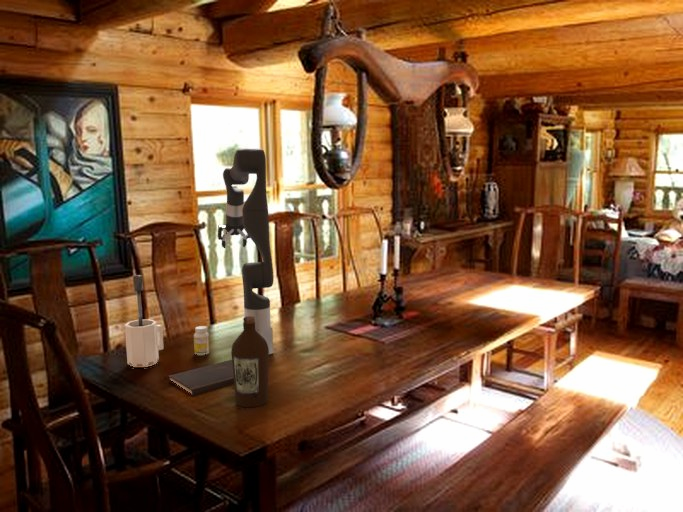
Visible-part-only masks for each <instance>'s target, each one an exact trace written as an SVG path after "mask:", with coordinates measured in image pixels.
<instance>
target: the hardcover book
mask: <svg viewBox="0 0 683 512" xmlns="http://www.w3.org/2000/svg"><path fill="white" fill-rule="evenodd" d="M168 377H169V380H171V381H173V382H174V383H176V384H177V385H176V384H175V385H176V386H178V385H179V386H180V387H179V386H178V387H179V388H181V387H182V388H183V389H182V388H181V389H182V390H184V389H185V390H186V391H185V392H187V391H188V392H187V393H189V392H190V393H191V394H190V393H189V394H190V395H192V396H195V394H196V395H200V394H202V392H203V393H206V392H209V390H210V391H213V390H216V389H219V388H223V386H224V387H227V386H230V385H234V375H233V364H232V359H229V360H226V361H225V360H224V361H220V362H217V363H213V364H209V365H206V366H205V365H204V366H201V367H198V368H197V367H196V368H194V369H190V370H186V371H182V372H179V373H175V374H174V373H173V374H171V375H170V374H169V375H168ZM171 381H170V382H171ZM173 382H172V383H173ZM174 383H173V384H174Z"/></svg>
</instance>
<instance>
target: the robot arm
mask: <svg viewBox="0 0 683 512" xmlns="http://www.w3.org/2000/svg"><path fill="white" fill-rule="evenodd" d="M266 157H267V156H266V153H265V150H264V149H263V148H254V147H253V148H251V147H250V148H249V147H248V148H247V147H242V148H238V149H237V150H236V151H235V153H234V157H233V163H232V166H231V167H227V168H224V170H223V172H222V178H223V182H224V185H225V189H226V207H225V225H221V224H218V226H217V239H218V240H220V241H221V246H222V248H223V249H226V243H227V241H226V240H227V239H228V238H229V237H230V236H239V235H240V236H241V237H242V244H241V245H242V247H243V248H246V246H247V243H248V241H247V240H248V239H251V241H252V242H253V243H254V245H255V246H256V248H257V250H258V251H259V253H260V256H261V259H262V261H259V262H258V261H256V262H246V263H243V265H242V268H241V277H242V279H241V280H242V285H243V286H242V288H243V312H244V313H243V314H244V317H248V316H252V317H254V318H255V320H254V322H255V330H256V331H257V332H258V333H259V334H260V335H261V336H262V337H263V338H264V339H265V340H266V342H267V344H268V348H269V356H270V355H272V354H274V334H273V333H274V329H273V328H272V325H271V301H270V298H269V297H267V296H264V295H262V294H261V295H260V294H259V293H256V292H255V291H253V290H254V289H265V288H268V289H269V288H271V287H273V285H274V278H275V277H274V268H273V260H272V259H273V257H272V252H271V251H272V250H271V243H270V241H271V240H270V220H269V219H270V218H269V207H268V196H267V195H268V194H267V164H266V163H267V160H266V159H267V158H266ZM250 175H256V181H255V183H254V186H253V188H252V190H251V192H250V194H249V196H247V198H246V200H245V193H244V190H243V189H241V188H238V187H237V188H236V187H234V186H233V185H235V186H237V185H239V186H240V185H241V186H243V185H246V184H248V182H249V179H250V178H249V177H250ZM244 201H245V202H244ZM224 230H225V231H224ZM244 230H245V233H246V234H245V233H244V232H243V231H244ZM223 231H224V232H223ZM222 232H223V233H222ZM244 317H243V318H244Z"/></svg>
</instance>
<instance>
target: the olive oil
mask: <svg viewBox="0 0 683 512" xmlns="http://www.w3.org/2000/svg"><path fill="white" fill-rule="evenodd" d="M242 320H243V323H242V327H243V328H242V329H243V330H242V332H240V334H239V335H238V336H237V338H236V339H235V340H234V341H233V343H232V346H231V351H230V352H231V354H230V355H231V360H232V364H233V375H234V384H233V385H234V386H233V387H234V397H235V398H234V401H235V404H236V405H237V406H239V407H243V408H257V407H260V406H263V405H265V404H266V403H268V400H269V362H270V359H269V358H270V355H269V348H268V344H267V342H266V340H265V339H264V338H263V337H262V336H261V335H260V334H259V333H258V332H257V331H256V330H255V322H254V320H255V318H254V317H252V316H248V317H243V318H242Z"/></svg>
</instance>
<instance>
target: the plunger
mask: <svg viewBox="0 0 683 512" xmlns="http://www.w3.org/2000/svg"><path fill="white" fill-rule="evenodd" d="M143 281H144V279H143V275H142V274H135V275H133V276H132V282H133V283H132V284H133V292H136V297H137V300H136V301H137V313H138V320H139V325H137V326H133V327H142V326H147V325H143V321H142V320H143V307H142V293H141V292H142V291H144V282H143Z"/></svg>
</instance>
